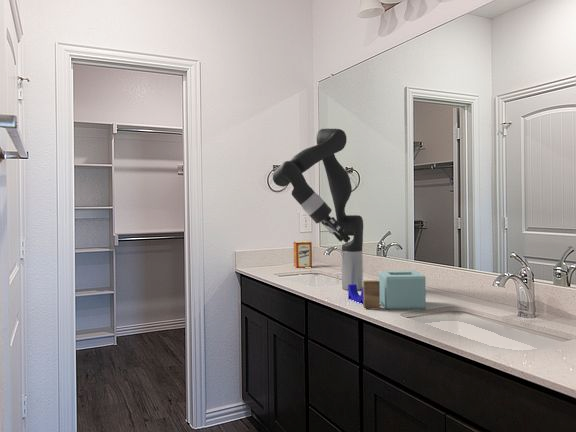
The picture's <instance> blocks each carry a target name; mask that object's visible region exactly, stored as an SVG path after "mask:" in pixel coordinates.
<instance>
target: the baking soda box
mask: <svg viewBox="0 0 576 432" xmlns="http://www.w3.org/2000/svg"><path fill="white" fill-rule="evenodd" d="M312 255H313V253H312V241H304V240H303V241H302V240H298V241H293V267H294V266H295V267H296V268H303V269H306V268H305V267H312V268H313V261H312V259H313V256H312ZM296 268H295V269H296Z"/></svg>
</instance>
